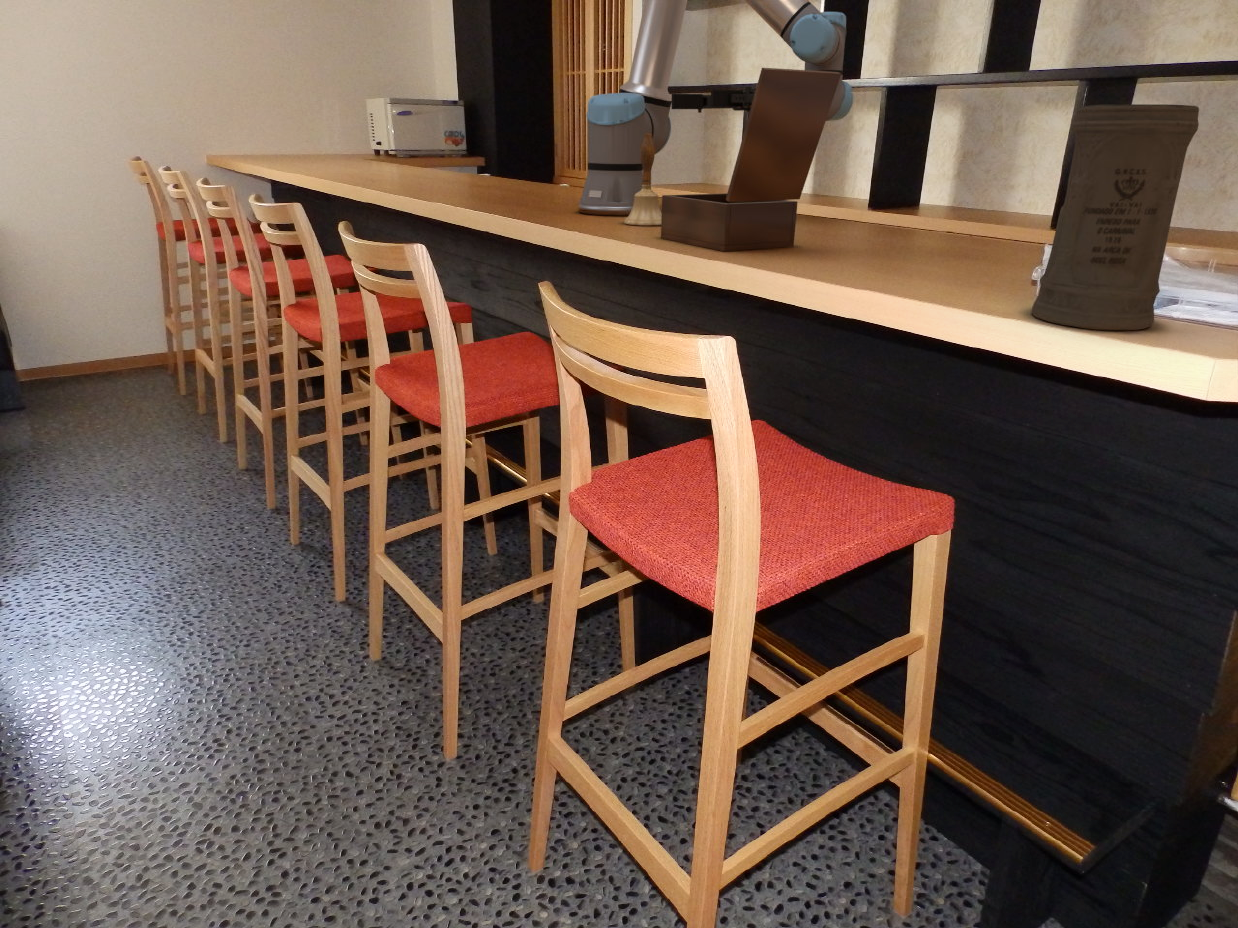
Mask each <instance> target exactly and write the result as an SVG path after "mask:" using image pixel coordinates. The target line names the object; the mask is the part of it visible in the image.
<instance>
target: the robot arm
mask: <svg viewBox="0 0 1238 928" xmlns="http://www.w3.org/2000/svg"><path fill="white" fill-rule="evenodd" d="M744 2H745V3H747V5H748V6H750V7H751V9H752V10H754V12H755V13H756V14H757V15H759V17H760V18H761V19H762V20H763V21H764V22H765V23H766V24H767V25H768V26H769V27H770V28H771V29H772V30H773V31H774V32H775V33H776V34H777V35H778V36H779V38H781V39H782V40H783V42H784V43H786V44H787V46H789V47H790V49H791V50H792V52H793V54H794V55H795V56H796V57H797V58H798V59H800V61H803V62H804V70H811V71H828V72H839V73H841V77H840V80H839V83H838V86H837V89H836V92H835V95H834V98H833V101H832V104H831V107H830V110H829V113H828V116H827V119H826V122H831V121H833V122H834V121H839V120H842V119H844V118H845V117H846V116H848V114H849V113H850V111H851V109H852V108H853V103H854V93H853V88H852V86H851V85H850V84H849V83H848V82H847V81H844V80H843V77H844V76H843V72H844V71H843V70H844V69H843V68H844V57H845V45H846V36H847V16H846V15H845V14H844V13H843V12H841V11H840V12H839V11H820V10H819V9H818V8H817V7H816V6H815V5H814V4H813V3H811V1H810V0H744ZM687 5H688V0H644V4H643V9H642V13H641V19H640V24H639V27H638V28H639V29H638V33H637V38H636V42H635V48H634V54H633V58H632V61H631V67H630V72H629V77H628V80H627V81H626V82H624V83H623V84H622V85H620V86H619V90H618V92H611V93H600V94H596V95H595V94H594V95H593V96H591V97H590V98H589V99H588V102H587V111H586V127H587V128H586V142H587V144H586V145H587V146H586V147H587V152H586V153H587V156H586V158H587V159H586V161H587V169H586V170H587V173H586V177H585V181H584V185H583V188H582V191H581V192H582V193H581V198H580V199H579V201H578V212H579V213H582V214H586V215H595V216H597V215H598V216H629V215H630V213H631V211H632V207H633V203H634V196H635V194H636V193H638V192H639V191H641V189H642V181H643V180H642V179H643V166H642V162H641V146H642V143H643V140H644V136H645V134H652V138H653V142H654V147H655V155H657V154H659V153H660V152H661V151H662V150H663V149H664V148H665V147H666V146H667V144H668V142H669V140H670V137H671V133H672V122H671V121H672V120H671V118H670V111H671V110H697V113H698V114H700V113H701V114H702V110H709V109H711V110H712V109H714V110H716V109H719V110H720V109H723V110H724V109H732V110H733V111H735V112H736V111H737V112H738V111H740V112H741V111H743V112H744V111H746V112H747V113H750V109H751V106H752V102H753V98H754V95H755V91H756V89H752V86H744V90H738V89H737V90H736V89H735V90H733V89H731V90H729V89H726V90H725V89H711V90H710V94H702V93H671V94H670V92H669V90H668V89H669V84H670V79H671V75H672V70H673V67H674V61H675V57H676V54H677V53H676V52H677V49H678V43H679V40H680V35H681V31H682V26H683V22H684V18H685V13H686V8H687Z"/></svg>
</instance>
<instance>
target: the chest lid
mask: <svg viewBox="0 0 1238 928" xmlns="http://www.w3.org/2000/svg"><path fill="white" fill-rule="evenodd" d="M840 77H841V73H839V72H828V71H811V70H805V69H794V68H793V69H792V68H777V67H761V70H760V73H759V77H758V81H757V84H756V87H755V90H756V91H755V95H754V98H753V102H752V106H751V109H750V112H748V113H749V114H748V116H747V121H746V124H745V127H744V132H743V135H742V138H741V142H740V146H739V149H738V153H737V156H736V159H735V160H736V161H735V164H734V167H733V171H732V175H731V179H730V182H729V185H728V190H727V192H726V193H727V196H726V200H727V201H728V202H738V201H767V200H789V201H796V200H800V199H801V196H802V193H803V191H804V188H805V185H806V182H807V178H808V175H809V173H810V169H811V166H812V164H813V160H814V157H815V155H816V152H817V148H818V145H819V142H820V140H821V136H822V133H823V130H824V127H825V125H826V122H827V121H826V119H827V116H828V113H829V110H830V107H831V104H832V101H833V98H834V95H835V92H836V89H837V86H838V83H839V80H840Z"/></svg>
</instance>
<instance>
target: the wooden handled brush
mask: <svg viewBox="0 0 1238 928" xmlns="http://www.w3.org/2000/svg"><path fill="white" fill-rule="evenodd" d="M655 155H656V154H655V147H654V142H653V138H652V134H645V136H644V140H643V143H642V146H641V162H642V166H643V179H642V180H643V181H642V189H641V191H639V192H638V193H636V194H635V196H634V203H633V207H632V211H631V213H630V215H627V217H626V218H625V219H624V221H623V224H625V225H629V226H661V219H662V210H661V208H660V202H659V195H658V194H657V193H656V192H654V191H653V189H652V168H653V164H654V163H655V162H654V161H655Z"/></svg>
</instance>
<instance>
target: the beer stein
mask: <svg viewBox="0 0 1238 928" xmlns="http://www.w3.org/2000/svg"><path fill="white" fill-rule="evenodd" d="M1199 113H1200V108H1199V106H1196V105H1190V104H1163V103H1162V104H1160V103H1159V104H1155V103H1154V104H1150V103H1148V104H1147V103H1146V104H1139V103H1138V104H1137V103H1136V104H1135V103H1134V104H1132V103H1130V104H1129V103H1128V104H1127V103H1125V104H1124V103H1123V104H1119V103H1118V104H1117V103H1116V104H1090V105H1085V106H1081V107H1079V108H1078V110H1077V112H1076V115H1075V118H1074V121H1073V123H1072V125H1071V131H1072V133H1073V135H1074V140H1075V142H1074V149H1073V154H1072V160H1071V165H1070V170H1069V175H1068V179H1067V187H1066V193H1065V198H1064V203H1063V205H1062V206H1061V208H1060V211H1059V215H1058V219H1057V223H1056V228H1055V232H1054V235H1053V240H1052V245H1051V250H1050V254H1049V256H1048V260H1047V264H1046V267H1045V270H1044V273H1043V274H1042V276H1041V277H1040V278H1039V285H1040V287H1039V291H1038V294H1037V296H1036V298H1035V300H1034V302H1033V305H1032V306H1031V311H1030V312H1031V313H1032V315H1033V316H1034V317H1035V318H1038V319H1040V320H1043V321H1046V322H1049V323H1053V324H1056V325H1061V326H1068V327H1074V328H1081V329H1086V330H1095V331H1137V330H1143V329H1146V328H1150V327H1152V326H1153V325H1154V323H1155V307H1154V305H1155V302H1156V299H1157V296H1158V295H1159V294H1160V292H1161V290H1160V289H1161V288H1160V283H1159V280H1160V275H1161V270H1162V266H1163V261H1164V257H1165V251H1166V247H1167V242H1168V237H1169V233H1170V227H1171V223H1172V219H1173V213H1174V209H1175V204H1176V200H1177V195H1178V190H1179V187H1180V182H1181V178H1182V172H1183V169H1184V164H1185V160H1186V155H1187V151H1188V148H1189V145H1190V144H1191V142H1192V140H1193V138H1194V136H1195V135H1196V133H1197V132H1198V129H1199V125H1200V124H1199Z"/></svg>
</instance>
